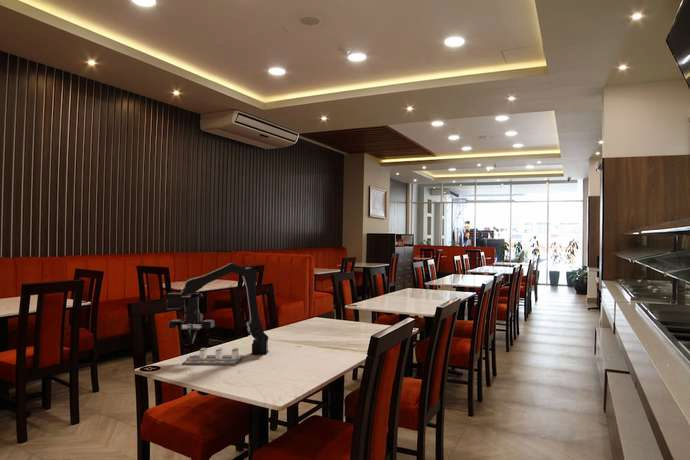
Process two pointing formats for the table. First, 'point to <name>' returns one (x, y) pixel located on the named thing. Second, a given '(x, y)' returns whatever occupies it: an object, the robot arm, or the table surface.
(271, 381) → the table surface
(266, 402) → the table surface
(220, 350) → the breaker
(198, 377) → the table surface
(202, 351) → the breaker
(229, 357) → the panel
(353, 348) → the table surface
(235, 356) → the breaker
